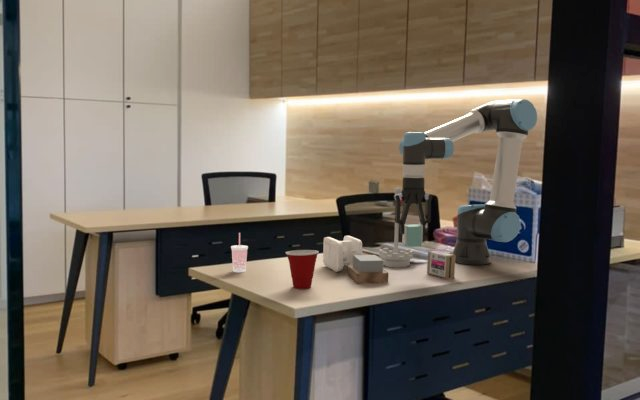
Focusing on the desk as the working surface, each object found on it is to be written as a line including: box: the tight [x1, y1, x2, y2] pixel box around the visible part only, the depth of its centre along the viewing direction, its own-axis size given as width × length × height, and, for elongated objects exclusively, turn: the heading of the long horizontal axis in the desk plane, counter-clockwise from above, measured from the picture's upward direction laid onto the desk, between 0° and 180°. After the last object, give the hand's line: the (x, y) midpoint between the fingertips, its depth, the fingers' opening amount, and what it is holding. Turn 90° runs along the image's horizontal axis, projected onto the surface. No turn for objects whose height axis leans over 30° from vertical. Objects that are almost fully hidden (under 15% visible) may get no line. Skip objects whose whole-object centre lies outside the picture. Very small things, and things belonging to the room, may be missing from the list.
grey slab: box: [353, 254, 384, 273], centre depth 212 cm, size 8×10×4 cm
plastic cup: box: [285, 249, 319, 290], centre depth 199 cm, size 11×11×12 cm
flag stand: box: [378, 187, 414, 268], centre depth 238 cm, size 13×13×30 cm
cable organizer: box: [322, 235, 363, 273], centre depth 228 cm, size 15×11×12 cm
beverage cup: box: [230, 232, 249, 273], centre depth 221 cm, size 6×6×14 cm
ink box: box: [426, 250, 456, 280], centre depth 219 cm, size 10×4×8 cm, turn 37°
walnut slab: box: [347, 266, 389, 285], centre depth 213 cm, size 11×13×4 cm
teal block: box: [402, 223, 423, 248], centre depth 214 cm, size 5×5×7 cm
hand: (412, 242), depth 215 cm, fingers closed on teal block, 5 cm apart
